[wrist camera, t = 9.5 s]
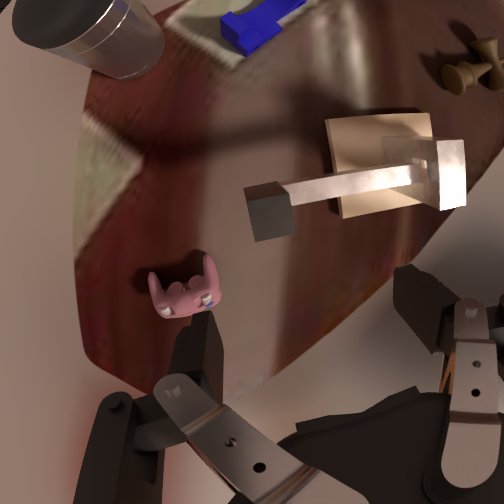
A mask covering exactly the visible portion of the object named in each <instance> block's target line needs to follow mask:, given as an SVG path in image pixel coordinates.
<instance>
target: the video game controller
mask: <svg viewBox="0 0 504 504" xmlns="http://www.w3.org/2000/svg"><path fill="white" fill-rule="evenodd" d="M203 267H204V277H205V280H204V279H203V277H202V276H200V275H195V276H193V277H192V278H191V279H190V280H189V282H188V285H189V287H190V288H191V289H190V290H187V291H185V288H184V287H183V285H182V283H181V282H173V283H172V284H171V285H170V286H169V288H168V290H167V292H166V293H165V292H164V290H163V289H162V286H161V284H160V281H159V279H158V277H157V275H156V274H155V273H154V272H150V273H149V276H148V283H149V288H150V293H151V297H152V300H153V304H154V306H155V308H156V311H157V312H158V313H159V314H160V315H161V316H162V317H164V318H171V317H172V318H179V317H185V316H189V315H192V314H194V313H198V312H200V311H202V310H204V309H206V308H207V307H212V306H214V305H216V304H217V303H218V302H219V301H220V299H221V296H222V293H221V290H220V283H219V277H218V273H217V270H216V267H215V264H214V261H213V259H212V257H211V256H210V255H209V254H205V255H204V257H203Z"/></svg>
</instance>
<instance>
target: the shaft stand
mask: <svg viewBox="0 0 504 504" xmlns="http://www.w3.org/2000/svg"><path fill="white" fill-rule="evenodd" d="M325 124H326V129H327V135H328V140H329V146H330V152H331V158H332V164H333V171H334V172H340V171H346V170H353V169H359V168H366V167H373V166H380V165H387V164H395V163H403V162H411V163H416V164H418V171H419V183H415V184H408V185H402V186H396V187H390V188H384V189H379V190H373V191H367V192H361V193H356V194H350V195H345V196H340V197H337V199H338V207H339V216H341V217H342V218H348V217H353V216H358V215H363V214H368V213H373V212H378V211H383V210H388V209H393V208H398V207H403V206H408V205H413V204H418V203H425V204H427V205H430V206H432V207H434V208H436V209H439V210H444V209H449V208H453V207H458V206H462V205H466V174H465V155H464V143H463V140H461V139H452V138H442V137H432V130H431V123H430V116H429V113H406V114H383V115H368V116H355V117H345V118H335V119H327V120H325Z"/></svg>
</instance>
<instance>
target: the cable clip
mask: <svg viewBox="0 0 504 504" xmlns="http://www.w3.org/2000/svg"><path fill="white" fill-rule="evenodd" d="M306 1H307V0H266V1H264V2H263V3H262V4H260V5H259V6H257V7H256V8H254V9H252V10H251V11H249V12H247V13H244V14H242V15H238V16H236V15H235V14H233V13H232V12H231V11H230V12H228V13H227V14H225V15H224V16H223V17H221V18H220V25H221V34H222V36H223V37H224V38H225V39H226V40H227V41H228V42H230V43H231V44H232V45H233V46H234V47H235V48H236V49H238V50H239V51H240V52H241V53H242V54H243V55H244V56H245V57H247V56H249V55H250V54H251V53H253V52H254V51H255V50H256V49H258V48H259V47H260V46H262V45H263V44H264V43H266V42H267V41H268V40H270V39H271V38H273V37H274V36H275V35H277V34H278V33H280V32H281V30H282V27H281V26H280V25H279V24H278V23H276V22H277V21H278V20H280V19H281V18H283V17H284V16H286V15H287V14H289V13H290V12H292V11H293V10H295V9H297V8H298V7H300V6H301V5H303V4H305V3H306Z"/></svg>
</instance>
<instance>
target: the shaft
mask: <svg viewBox="0 0 504 504" xmlns="http://www.w3.org/2000/svg"><path fill="white" fill-rule="evenodd" d="M415 183H419V171H418V164H416V163H411V162H403V163H395V164H387V165H380V166H373V167H366V168H359V169H353V170H346V171H340V172H334V173H328V174H322V175H316V176H311V177H305V178H300V179H295V180H289V181H284V182H279V183H278V182H277V181H275V182H270V183H265V184H260V185H256V186H251V187H246V188H243V189H244V193H245V198H246V202H247V207H248V211H249V216H250V220H251V225H252V230H253V234H254V239H255V242H259V241H263V240H268V239H272V238H277V237H282V236H286V235H291V234H296V230H295V224H294V218H293V212H292V206H293V205H298V204H303V203H308V202H313V201H319V200H324V199H329V198H334V197H340V196H345V195H350V194H356V193H361V192H367V191H373V190H379V189H384V188H390V187H396V186H402V185H408V184H415Z"/></svg>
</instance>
